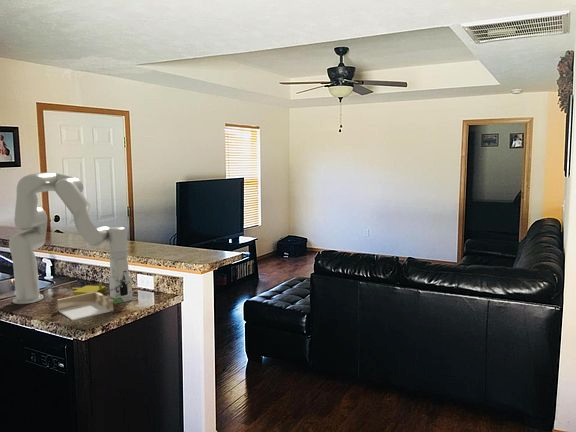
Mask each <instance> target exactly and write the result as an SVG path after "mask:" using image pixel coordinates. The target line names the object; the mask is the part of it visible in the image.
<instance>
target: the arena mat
mask: <svg viewBox="0 0 576 432" xmlns="http://www.w3.org/2000/svg"><path fill="white" fill-rule="evenodd" d="M58 312H59V313H60V314H62V315H63V316H65V317H67V318H68V319H69V320H70V321H72V322H74V321H78V320H81V319H86V318H89V317H93V316H98V315H102V314H105V313H110V312H111V311H110V310H109V309H107V308H105V307H103V306H101V305H100V304H98V303H96V302H94V303H89V304H85V305H80V306H76V307H72V308H67V309H63V310H59V311H58Z"/></svg>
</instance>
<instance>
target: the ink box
mask: <svg viewBox="0 0 576 432" xmlns="http://www.w3.org/2000/svg"><path fill="white" fill-rule="evenodd" d="M122 280H124V278H123V279H122ZM123 282H124V281H122V284H123ZM132 283H133V282H132V275H131V274H129V282H128V286H127V289H128V294H127V295H124V296H121V295H120V287H121V285H120V281H117V278H115V277H113V276H110V275H109V277H108V284H109V298H111V299H113V305H114V304H115V305H116V304H121V303H126V302H130V301H133V285H132Z"/></svg>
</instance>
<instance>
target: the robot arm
mask: <svg viewBox="0 0 576 432" xmlns="http://www.w3.org/2000/svg"><path fill="white" fill-rule="evenodd" d="M50 191H51V192H55V193H56V195H57V196H58V197H59V198H60V200H61V202H63V204H64V205H65V206H66V208H67V209H68V211H69V212H70V213H71V215H72V217H73V222H74V225H75V227H76V230H77V232H78V234H80V236H81V237H82V239H83V240H84V241H85V242H86V243H87V244H88V245H90V246H91V247H98V246H101V245H103V244H106V243H108V246H109V259H110V260H109V277H110V276H113V277H115V278H117V281H120V285H121V287H120V295H121V296H124V295H127V294H128V289H127V286H128V282H129V275H130V269H129V261H128V257H129V256H128V255H129V253H128V238H127V229H126V228H125V227H123V226H114V227H113V226H107V225H106V226H105V225H102V226H98V227H96V226H95V224H94V223H93V222H92V221H91V218H90V214H89V213H90V208H91V204H90V202H89V201H88V199H86V197H85V196H84V195H83V191H84V184H83V182H82V181H81V180H80V179H79V178H77V177H75V176H71V175H65V174H61V173H57V172H49V171H47V172H37V173H36V172H35V173H30V174H28V175H25V176H23V177H22V178H20V179H19V181H18V182H17V185H16V199H15V200H16V201H15V208H14V209H15V210H14V218H13V219H14V220H13V221H14V226H15V227H16V228H17V229H19V230H23V231H21V232H17V233H15V234H13V235H12V236H11V237H10V239H9V241H8V248H9V252H10V255H11V260H12V266H13V267H12V268H13V277H14V278H13V279H14V288H15V297H13V299H12V303H13V304H16V305H28V304H32V303H36V302H40V301H42V300H43V299H45V297H44V295H43V294H42V293H40V284H39V283H40V282H39V271H38V263H37V257H36V256H35V253H34V251H35V250H38V249H40V248H42V247H43V246H44V244H45V242H46V237H47V230H48V229H47V227H48V215H47V212H46V211H45V210H44V208H42V207H39V206H38V203H39V201H38V200H39V199H38V195H37V194H38V193H44V192H45V193H46V192H50ZM123 278H124V280H122V279H123ZM122 281H124V282H123V284H122Z"/></svg>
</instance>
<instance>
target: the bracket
mask: <svg viewBox="0 0 576 432" xmlns="http://www.w3.org/2000/svg"><path fill="white" fill-rule="evenodd" d="M71 289H72V290H74V291H72V296H76V295H81V294H86V293H91V292H95V291H97V292H99V293H101V294H103V295H106V294H107V286H104V285H103V283H102V282H101V281H100V282H99V283H98V285H84V286H82V287H71Z"/></svg>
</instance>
